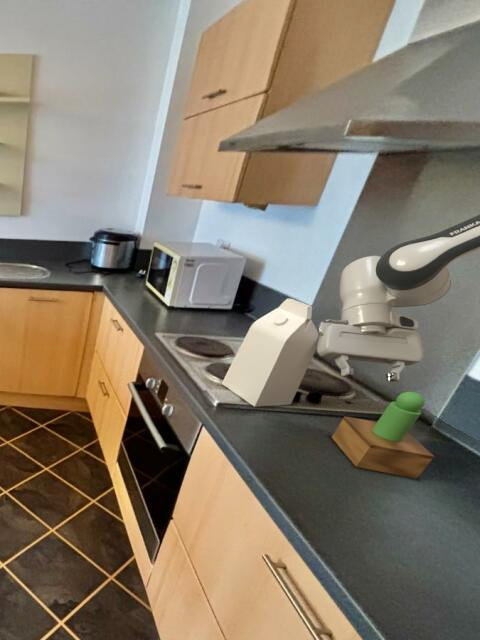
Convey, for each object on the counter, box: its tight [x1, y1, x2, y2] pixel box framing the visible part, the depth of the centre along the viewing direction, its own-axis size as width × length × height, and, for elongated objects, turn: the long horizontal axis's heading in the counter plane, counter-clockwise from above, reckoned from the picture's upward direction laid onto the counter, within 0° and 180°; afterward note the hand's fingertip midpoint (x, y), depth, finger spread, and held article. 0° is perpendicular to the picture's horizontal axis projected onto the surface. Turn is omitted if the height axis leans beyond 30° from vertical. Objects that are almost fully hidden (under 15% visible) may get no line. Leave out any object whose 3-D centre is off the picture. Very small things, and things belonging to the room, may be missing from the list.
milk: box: [221, 298, 319, 408], centre depth 107 cm, size 12×12×26 cm
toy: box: [372, 391, 426, 442], centre depth 86 cm, size 5×5×10 cm
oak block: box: [331, 416, 435, 479], centre depth 90 cm, size 11×11×6 cm
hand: (370, 378), depth 96 cm, fingers open, 8 cm apart
